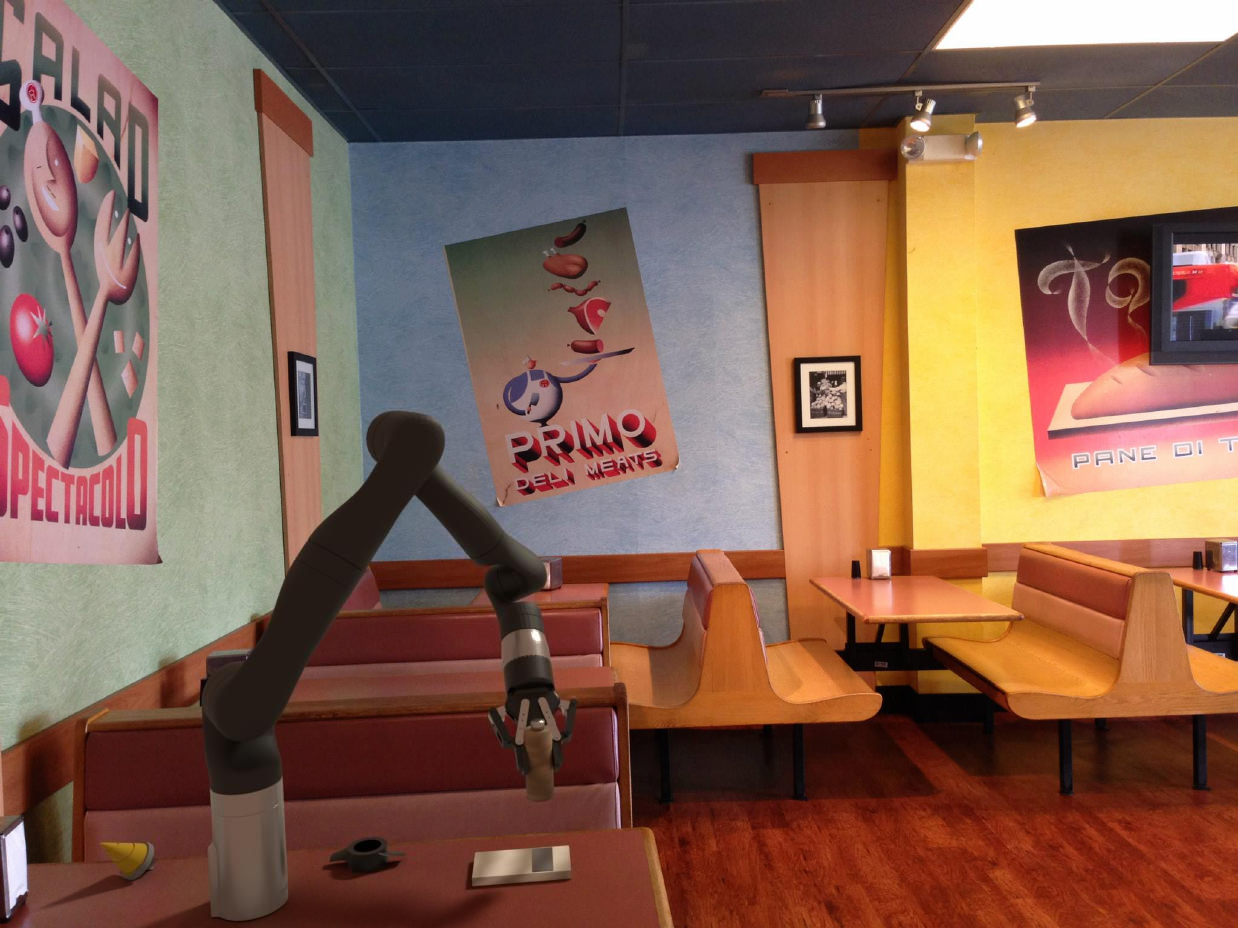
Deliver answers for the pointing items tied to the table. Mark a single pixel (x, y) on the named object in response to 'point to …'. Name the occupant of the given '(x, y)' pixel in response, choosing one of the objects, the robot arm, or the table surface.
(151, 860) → the yellow party hat
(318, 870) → the table surface
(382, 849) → the black winged cup
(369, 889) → the table surface
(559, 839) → the table surface
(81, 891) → the table surface
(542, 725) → the wooden pepper mill
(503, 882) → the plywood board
